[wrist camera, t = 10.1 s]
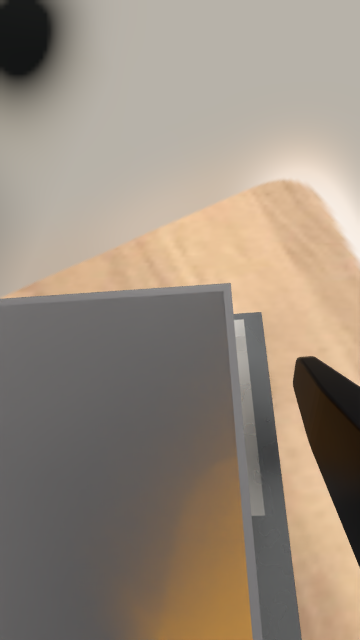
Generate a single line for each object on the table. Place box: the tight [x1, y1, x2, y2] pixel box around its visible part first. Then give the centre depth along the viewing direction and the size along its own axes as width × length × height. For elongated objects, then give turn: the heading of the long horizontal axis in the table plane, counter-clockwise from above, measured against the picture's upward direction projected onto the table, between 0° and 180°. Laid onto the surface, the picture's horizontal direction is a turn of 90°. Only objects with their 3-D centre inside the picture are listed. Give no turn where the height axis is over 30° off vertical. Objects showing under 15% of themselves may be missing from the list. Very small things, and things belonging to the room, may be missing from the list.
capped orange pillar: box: [0, 283, 263, 640], centre depth 10 cm, size 5×5×12 cm
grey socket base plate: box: [233, 312, 302, 640], centre depth 14 cm, size 18×11×4 cm, turn 3°
